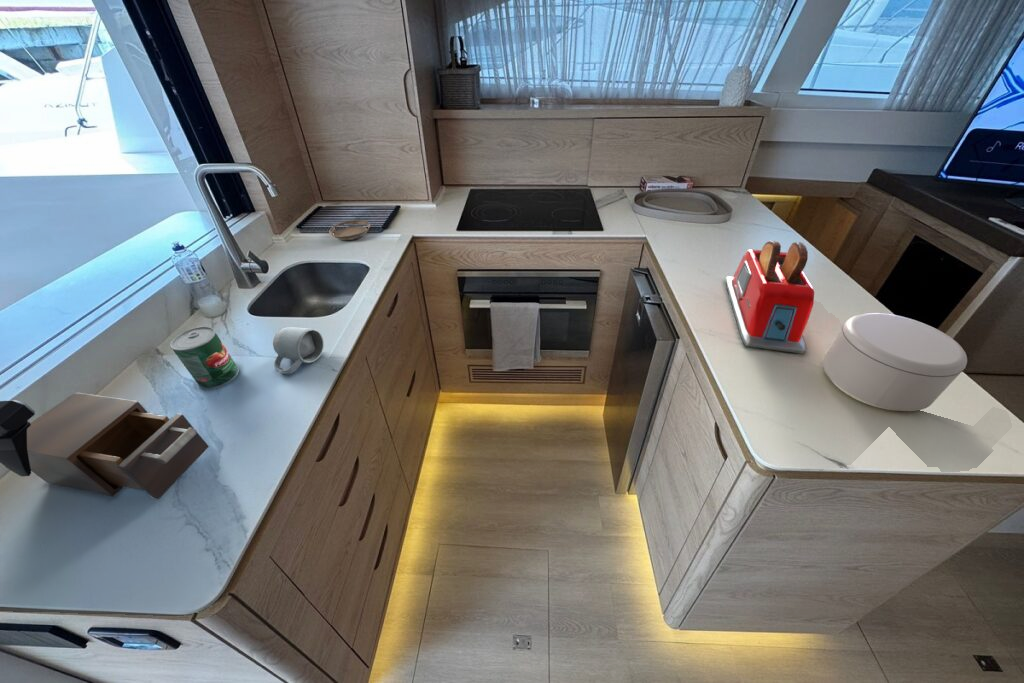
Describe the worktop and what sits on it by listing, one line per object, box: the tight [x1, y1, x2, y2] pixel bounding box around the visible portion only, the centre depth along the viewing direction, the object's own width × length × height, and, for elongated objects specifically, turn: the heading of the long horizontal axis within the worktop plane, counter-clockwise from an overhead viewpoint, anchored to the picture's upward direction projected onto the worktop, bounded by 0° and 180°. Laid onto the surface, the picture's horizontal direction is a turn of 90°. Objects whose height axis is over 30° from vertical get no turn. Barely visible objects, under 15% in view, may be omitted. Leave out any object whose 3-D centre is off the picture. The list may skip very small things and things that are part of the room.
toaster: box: [725, 240, 815, 354], centre depth 94 cm, size 32×13×19 cm, turn 164°
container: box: [822, 312, 968, 412], centre depth 76 cm, size 18×18×12 cm
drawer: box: [76, 411, 210, 500], centre depth 65 cm, size 17×10×9 cm, turn 79°
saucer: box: [328, 219, 371, 241], centre depth 147 cm, size 15×15×3 cm
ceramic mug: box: [272, 326, 325, 375], centre depth 88 cm, size 11×8×8 cm
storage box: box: [27, 391, 150, 497], centre depth 67 cm, size 14×12×11 cm
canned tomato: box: [169, 326, 240, 390], centre depth 84 cm, size 8×8×11 cm
